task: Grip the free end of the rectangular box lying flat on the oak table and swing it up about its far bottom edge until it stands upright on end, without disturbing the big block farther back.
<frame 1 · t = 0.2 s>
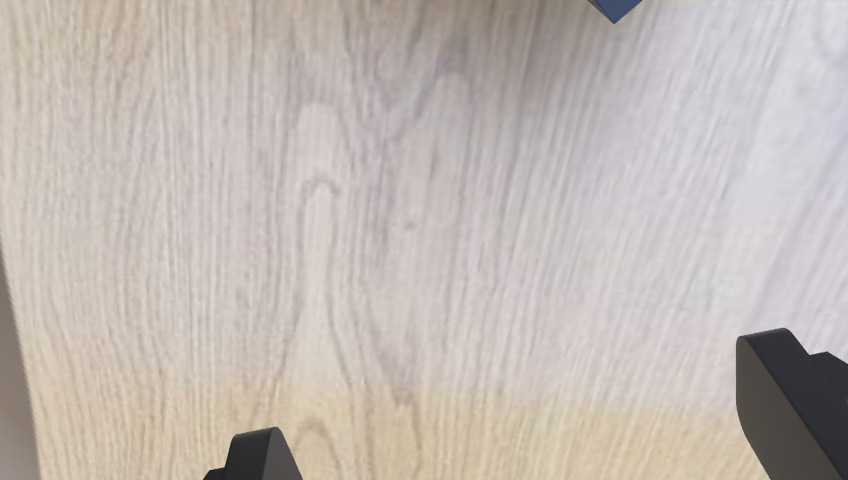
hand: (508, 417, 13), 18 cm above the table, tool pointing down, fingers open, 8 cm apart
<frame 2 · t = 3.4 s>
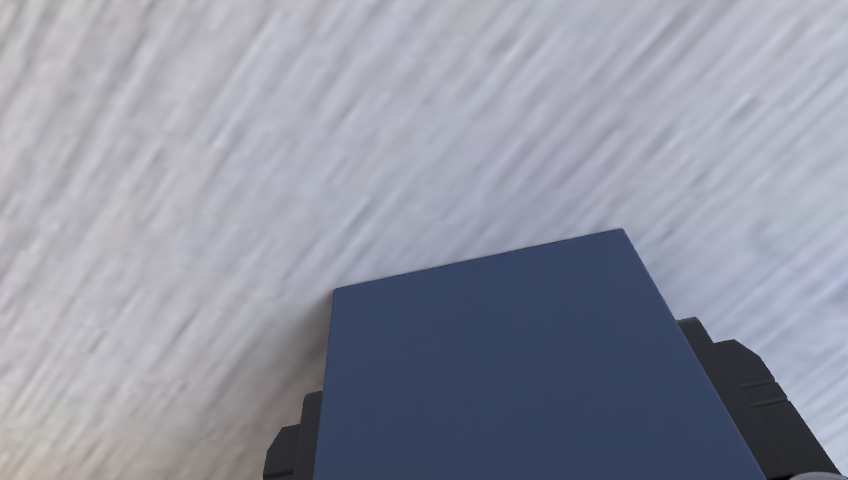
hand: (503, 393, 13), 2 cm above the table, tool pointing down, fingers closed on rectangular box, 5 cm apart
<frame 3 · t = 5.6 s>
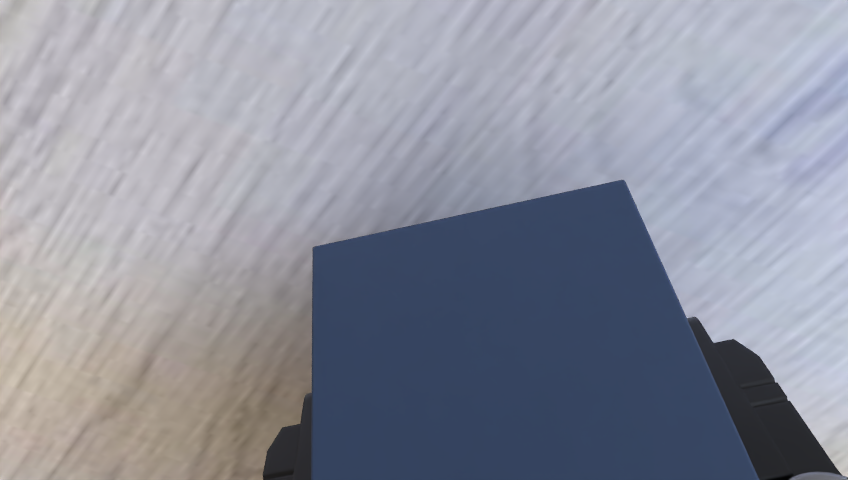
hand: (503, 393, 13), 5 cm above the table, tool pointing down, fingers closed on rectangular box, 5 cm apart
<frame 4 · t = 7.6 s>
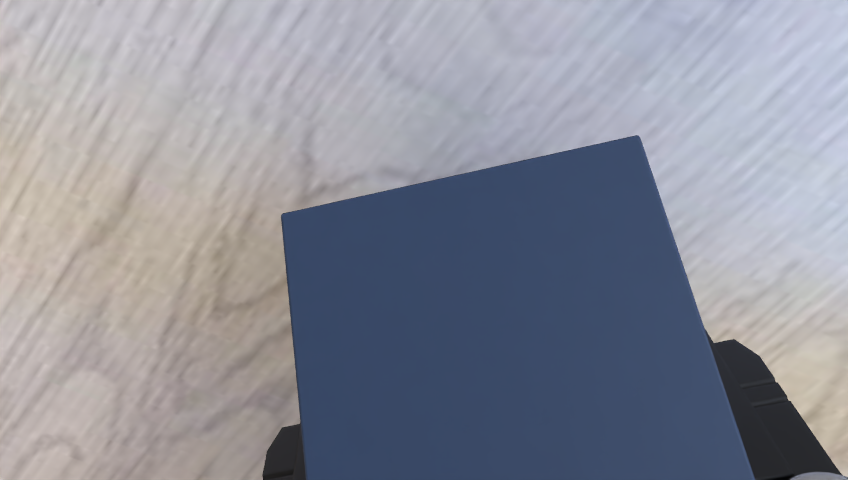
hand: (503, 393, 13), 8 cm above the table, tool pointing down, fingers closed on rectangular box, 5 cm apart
rectangular box: (516, 440, 16), point 7 cm above the table, hinge at 38.5°, touching gripper
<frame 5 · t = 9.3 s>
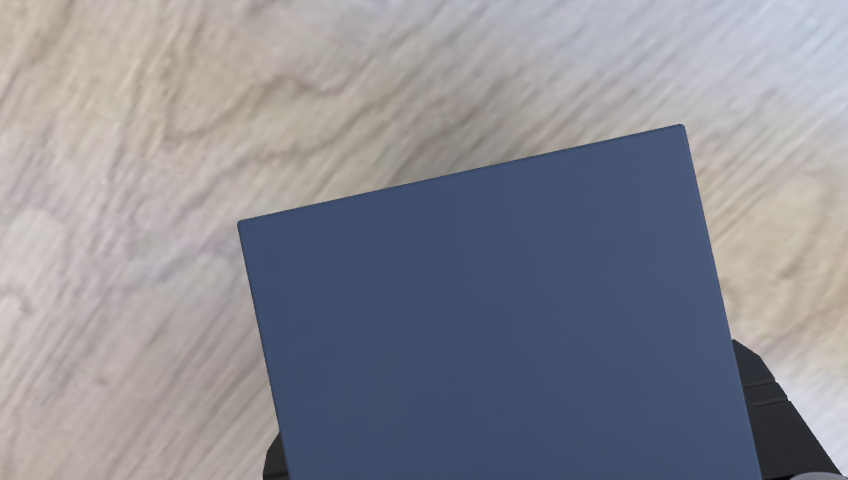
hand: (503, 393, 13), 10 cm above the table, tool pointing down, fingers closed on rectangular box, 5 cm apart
rectangular box: (495, 343, 16), point 8 cm above the table, hinge at 60.8°, touching gripper
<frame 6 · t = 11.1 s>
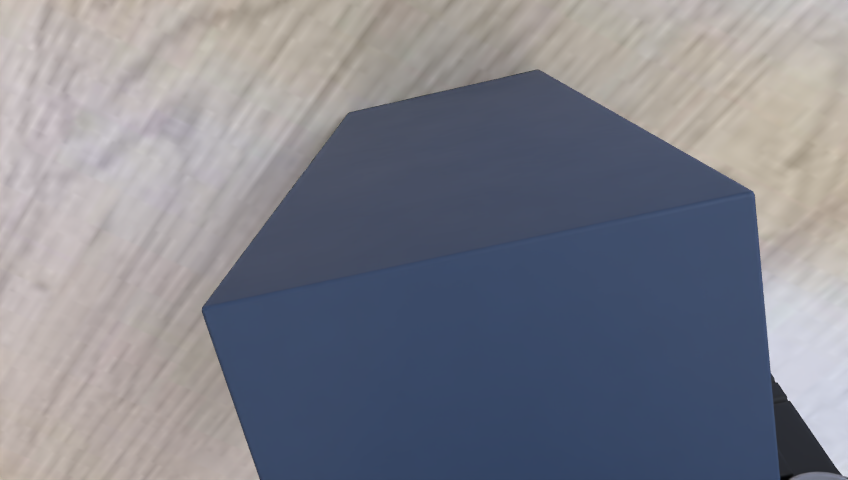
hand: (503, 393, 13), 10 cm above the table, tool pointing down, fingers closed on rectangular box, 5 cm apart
rectangular box: (481, 279, 15), point 7 cm above the table, hinge at 78.6°, touching gripper
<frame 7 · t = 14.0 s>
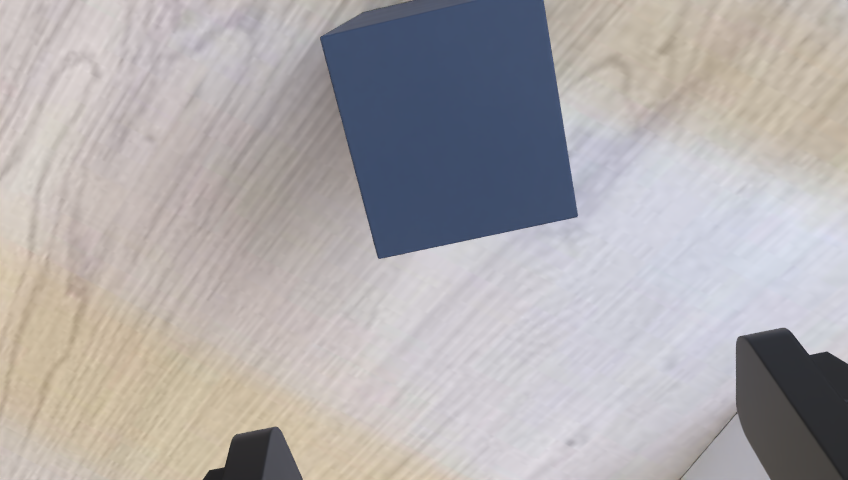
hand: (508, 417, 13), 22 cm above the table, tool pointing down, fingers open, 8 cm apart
rectangular box: (445, 92, 25), point 7 cm above the table, hinge at 79.8°
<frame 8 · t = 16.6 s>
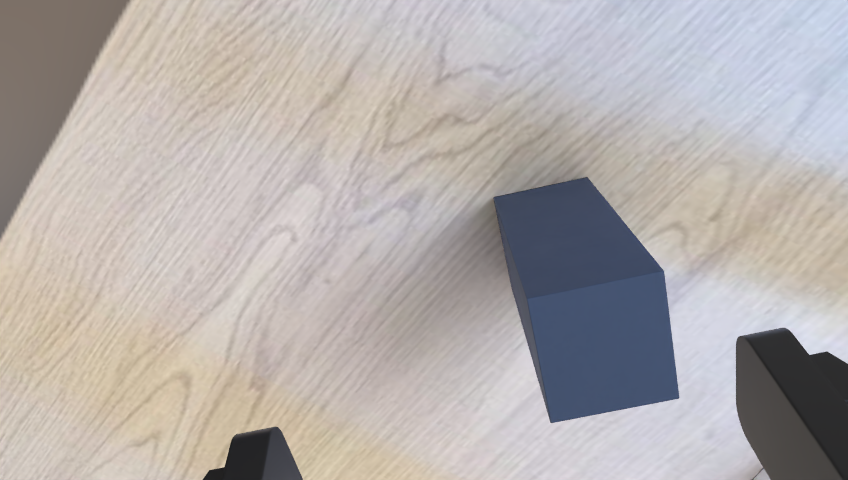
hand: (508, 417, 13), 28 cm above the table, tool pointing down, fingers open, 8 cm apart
rectangular box: (571, 282, 36), point 7 cm above the table, hinge at 79.8°
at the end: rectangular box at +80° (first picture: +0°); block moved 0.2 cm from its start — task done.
